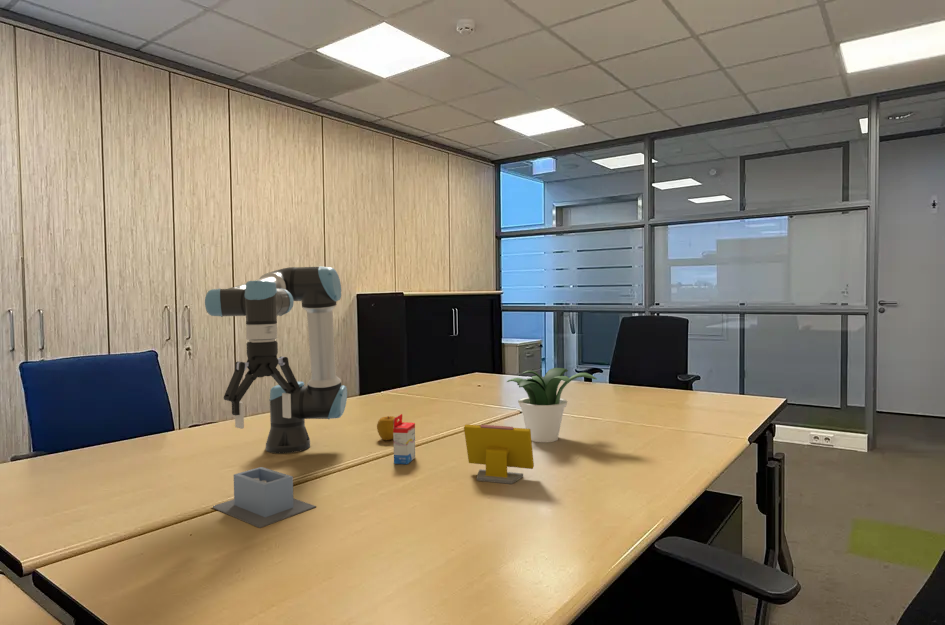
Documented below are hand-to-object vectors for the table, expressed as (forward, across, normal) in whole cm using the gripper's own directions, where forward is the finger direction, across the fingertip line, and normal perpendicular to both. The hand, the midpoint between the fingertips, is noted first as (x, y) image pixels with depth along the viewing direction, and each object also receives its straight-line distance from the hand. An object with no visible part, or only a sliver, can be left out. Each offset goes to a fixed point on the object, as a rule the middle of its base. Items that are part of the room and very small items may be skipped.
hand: (264, 422), depth 147 cm
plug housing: (+21, -1, -1) cm, 21 cm away
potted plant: (+22, +102, -27) cm, 108 cm away
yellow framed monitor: (+22, +53, -37) cm, 68 cm away
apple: (+22, +66, +22) cm, 73 cm away
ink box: (+22, +50, -2) cm, 54 cm away
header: (+22, -1, -1) cm, 22 cm away
